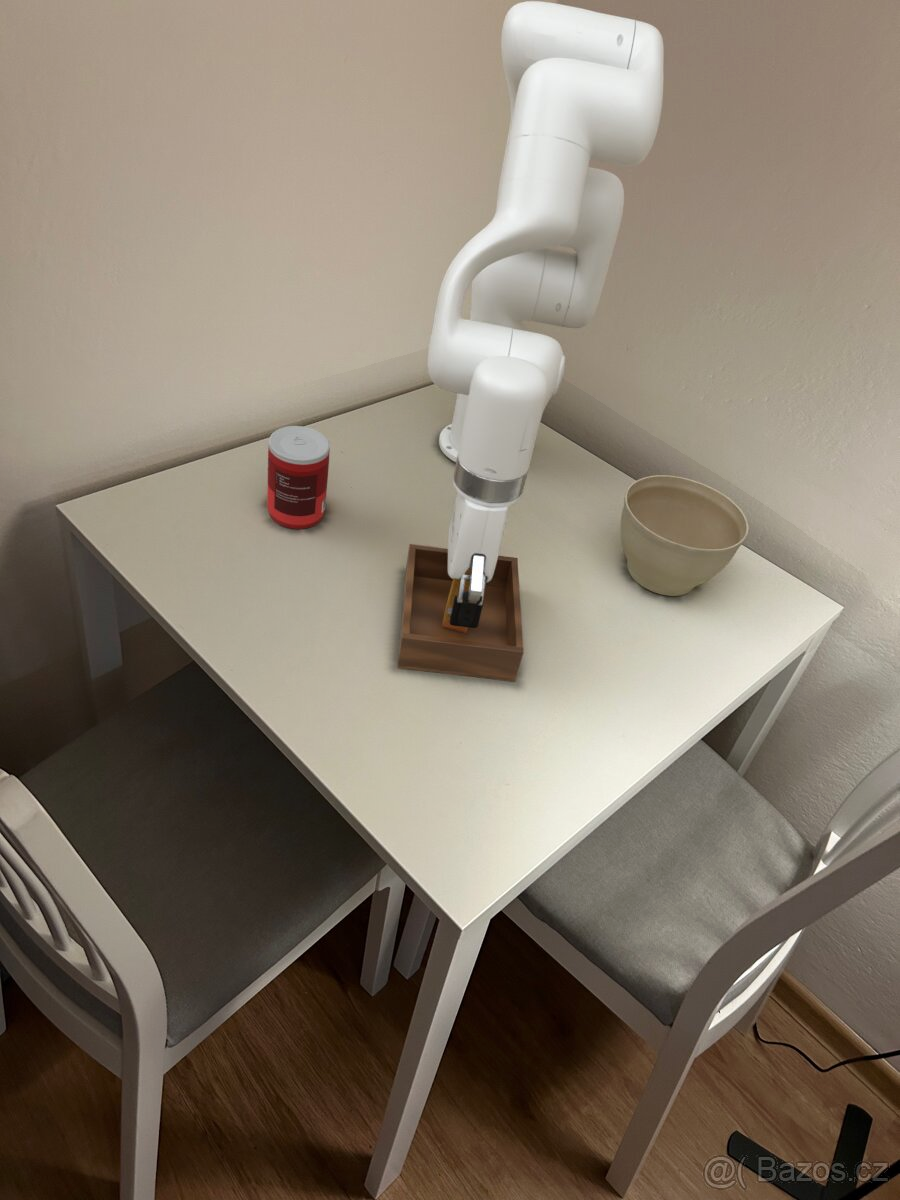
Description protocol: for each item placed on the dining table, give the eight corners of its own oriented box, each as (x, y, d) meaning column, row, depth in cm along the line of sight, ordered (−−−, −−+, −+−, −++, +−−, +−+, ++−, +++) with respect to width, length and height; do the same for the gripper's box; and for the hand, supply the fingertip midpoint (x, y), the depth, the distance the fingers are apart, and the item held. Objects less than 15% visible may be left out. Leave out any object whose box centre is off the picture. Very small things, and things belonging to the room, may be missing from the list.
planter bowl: (743, 599, 121) (774, 536, 114) (649, 626, 114) (677, 560, 107) (670, 528, 131) (695, 466, 123) (580, 548, 124) (601, 484, 116)
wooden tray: (404, 573, 114) (409, 543, 111) (509, 586, 115) (517, 557, 112) (397, 667, 102) (402, 637, 98) (514, 681, 103) (523, 652, 100)
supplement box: (468, 635, 107) (483, 571, 100) (440, 627, 107) (454, 564, 100) (473, 617, 109) (488, 554, 103) (446, 609, 110) (459, 546, 103)
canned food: (305, 488, 124) (309, 420, 117) (336, 521, 120) (342, 451, 113) (255, 503, 120) (256, 432, 113) (285, 536, 116) (288, 466, 108)
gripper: (455, 427, 100) (433, 547, 111) (453, 519, 87) (429, 644, 98) (521, 437, 101) (493, 555, 112) (529, 529, 88) (496, 652, 99)
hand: (463, 596), depth 105 cm, fingers open, 9 cm apart
